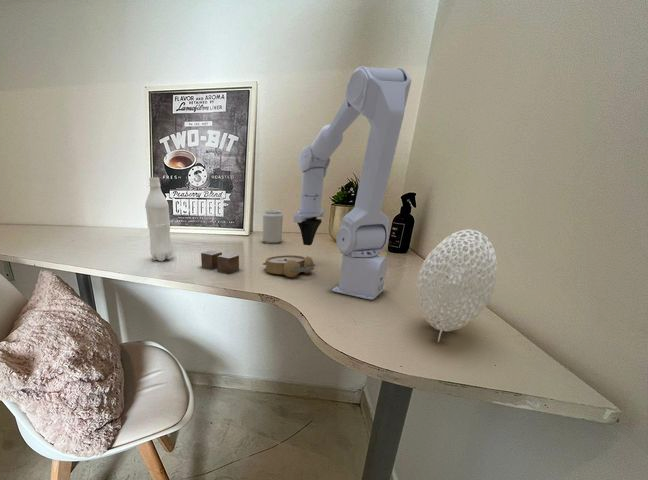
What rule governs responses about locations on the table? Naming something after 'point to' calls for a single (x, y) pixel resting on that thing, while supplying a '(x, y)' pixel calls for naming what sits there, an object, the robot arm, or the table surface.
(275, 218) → the can
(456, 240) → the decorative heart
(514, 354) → the table surface
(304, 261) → the alarm clock
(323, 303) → the table surface
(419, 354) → the table surface
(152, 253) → the water bottle
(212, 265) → the walnut block far
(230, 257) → the walnut block near
